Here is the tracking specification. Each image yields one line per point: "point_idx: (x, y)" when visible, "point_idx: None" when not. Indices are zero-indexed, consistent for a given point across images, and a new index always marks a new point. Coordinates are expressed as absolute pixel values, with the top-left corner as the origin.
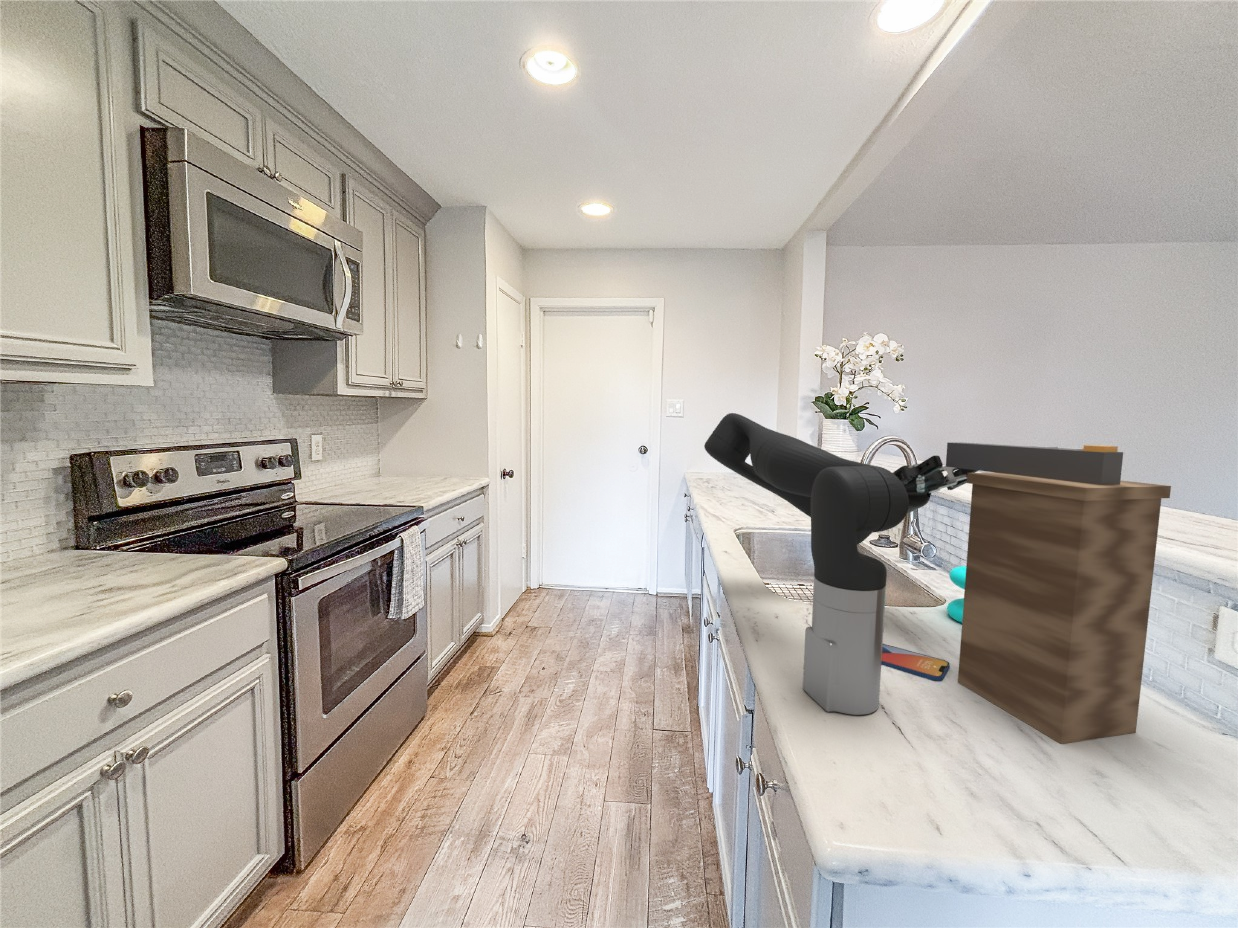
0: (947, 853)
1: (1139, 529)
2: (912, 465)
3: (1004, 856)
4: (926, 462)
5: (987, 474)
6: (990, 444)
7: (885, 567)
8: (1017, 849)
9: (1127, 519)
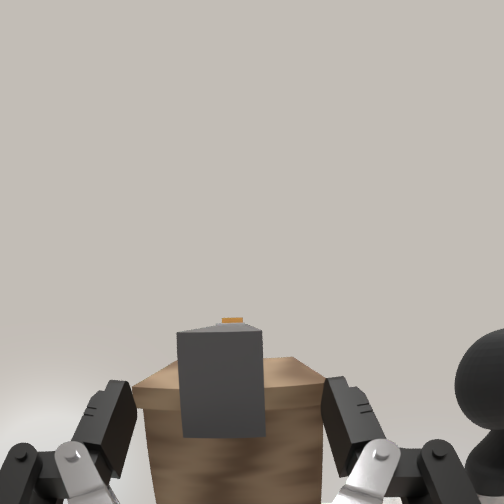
0: None
1: None
2: (399, 449)
3: (399, 497)
4: (366, 406)
5: (307, 378)
6: (214, 328)
7: (467, 458)
8: (391, 501)
9: None
